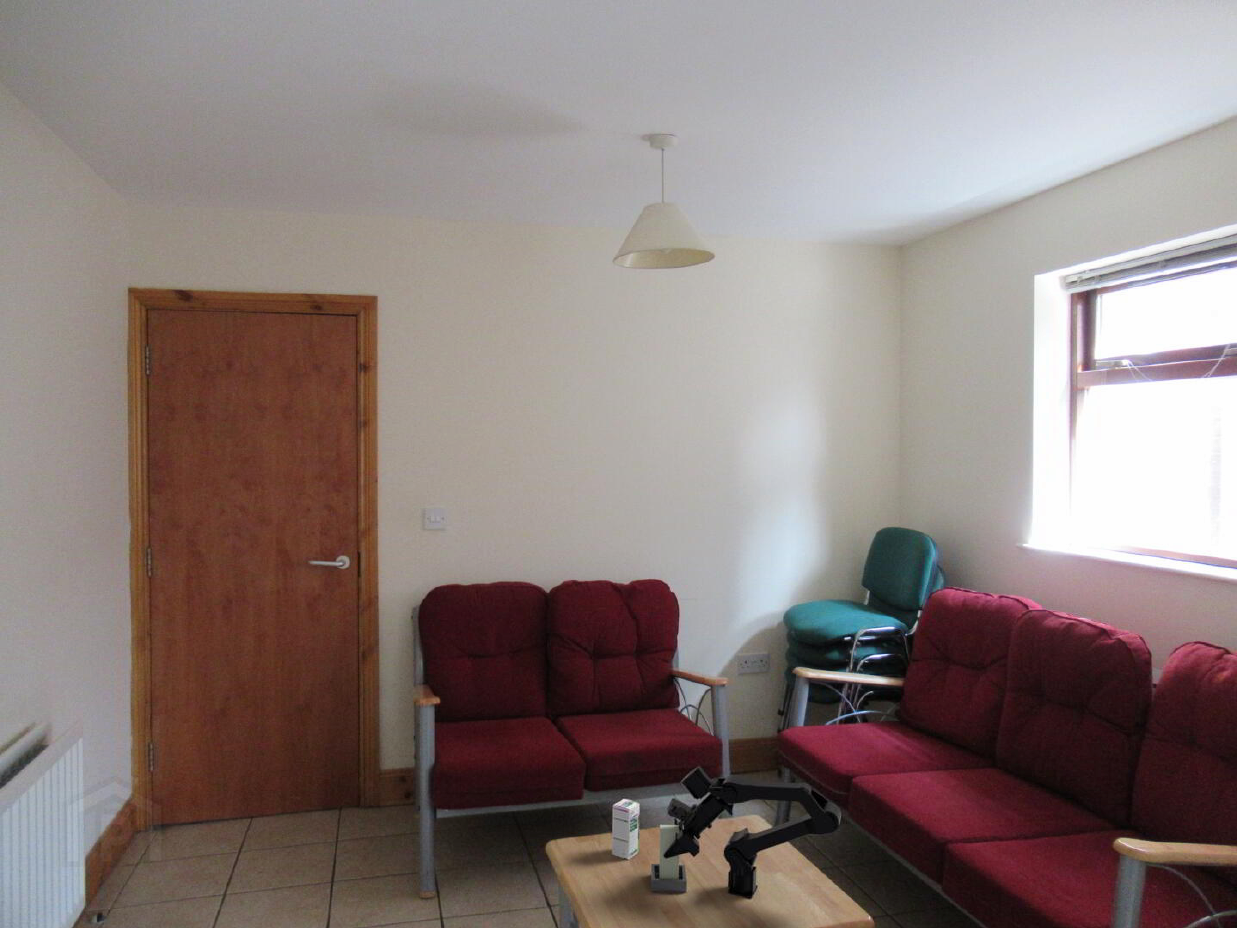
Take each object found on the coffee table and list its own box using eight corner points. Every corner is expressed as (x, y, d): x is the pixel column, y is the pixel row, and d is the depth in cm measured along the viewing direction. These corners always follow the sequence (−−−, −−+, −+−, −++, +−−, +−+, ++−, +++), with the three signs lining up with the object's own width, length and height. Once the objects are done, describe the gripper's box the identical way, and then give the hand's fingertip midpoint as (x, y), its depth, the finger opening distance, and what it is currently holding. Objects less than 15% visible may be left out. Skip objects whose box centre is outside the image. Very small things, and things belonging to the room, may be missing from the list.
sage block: (677, 872, 240) (678, 825, 240) (678, 882, 235) (679, 833, 235) (659, 872, 240) (660, 824, 240) (659, 881, 235) (660, 832, 235)
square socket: (684, 875, 242) (684, 864, 242) (686, 892, 233) (686, 881, 233) (650, 874, 242) (651, 863, 242) (651, 891, 233) (651, 879, 233)
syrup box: (628, 860, 251) (630, 808, 250) (611, 854, 254) (612, 803, 253) (639, 852, 255) (640, 802, 255) (621, 847, 259) (623, 797, 258)
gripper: (683, 777, 247) (642, 816, 247) (687, 804, 228) (643, 846, 228) (711, 806, 247) (670, 845, 247) (717, 835, 228) (673, 877, 228)
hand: (664, 852), depth 238 cm, fingers closed on sage block, 5 cm apart
